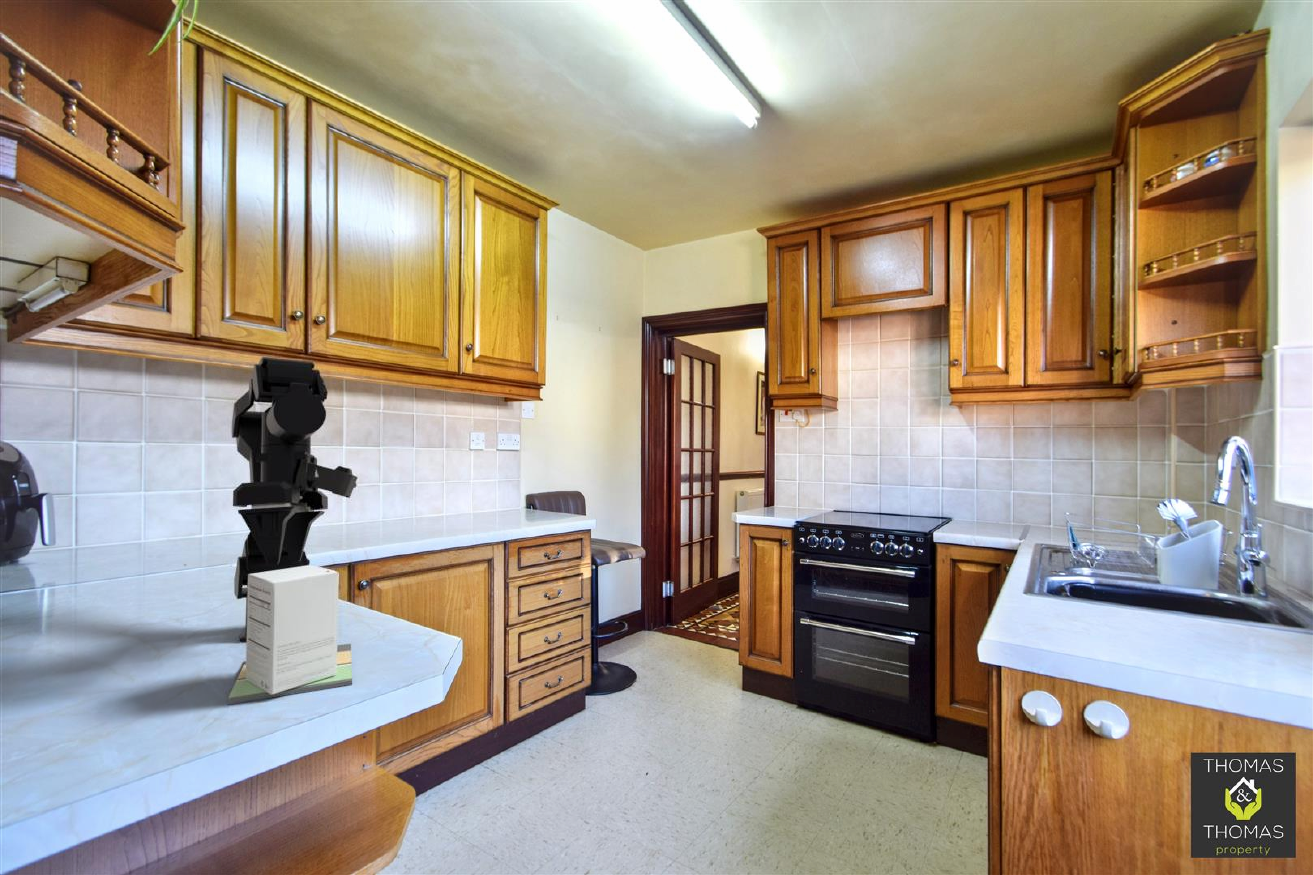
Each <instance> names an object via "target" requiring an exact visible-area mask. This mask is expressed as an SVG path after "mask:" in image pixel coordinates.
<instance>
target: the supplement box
mask: <svg viewBox="0 0 1313 875" xmlns="http://www.w3.org/2000/svg"><path fill="white" fill-rule="evenodd" d="M339 577H340V575H339V572H338V571H335V570H334V569H329V568H325V567H321V566H319V565H318V566H317V565H314V564H313V565H312V564H309V565H307V566H300V567H294V568H287V569H281V570H274V571H267V572H260V573H253V574H248V603H247V641H246V651H245V653H246V654H245V662H246V679H247V680H248V681H249V682H251V683H252V684H254V685H255V686H257V687H259V688H260V689H262V690H264V691H265V692H267V693H269V694H271V695H273V694H276V693H279V692H282V691H285V690H288V689H291V688H295V687H298V686H301V685H305V684H308V683H311V682H314V681H318V680H321V679H324V678H328V677H331V676H334V675H336V674H337V645H338V631H339V630H338V629H339V628H338V626H339V625H338V623H339V622H338V620H339V581H340V580H339Z"/></svg>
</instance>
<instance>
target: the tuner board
mask: <svg viewBox="0 0 1313 875" xmlns="http://www.w3.org/2000/svg"><path fill="white" fill-rule="evenodd" d="M352 663H353V662H352V643H345V644H337V674H336V675H334V676H331V677H328V678H324V679H321V680H318V681H314V682H311V683H308V684H305V685H301V686H298V687H295V688H291V689H288V690H285V691H282V692H279V693H276V694H273V695H271V694H269V693H267V692H265V691H264V690H262V689H260V688H259V687H257V686H255V685H254V684H252V683H251V682H249V681H248V680H247V679H246V661H245V662H244V664H243V666H242V668H241V670H240V673H239V675H238V676H237V677H236V678H237V679H236V680H235V683H234V685H233V687H232V690H231V691H230V693H229V696H227V697H228V698H227V705H228V706H229V705H233V704H240V703H248V702H253V701H260V700H266V698H267V699H271V698H278V696H279V697H284V696H283V695H285V696H288V695H287V694H291V695H293V694H292V693H298V694H301V693H309V692H315V690H316V691H321V690H320V689H322V690H327V689H328V688H329V689H334V687H335V688H339V687H338V686H341V687H345V686H344V685H347V686H352V684H353V667H352Z"/></svg>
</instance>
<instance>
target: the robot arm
mask: <svg viewBox="0 0 1313 875" xmlns="http://www.w3.org/2000/svg"><path fill="white" fill-rule="evenodd" d="M327 398H328V389H327V386H326V383H325V381H324V378H323V377H322V376H321V372H320V370H319V369H315V363H314V362H313V361H310V360H299V359H290V358H278V357H269V356H262V357H261V358H260V359H259V362H258V363H255V364H253V370H252V378H250V379H249V384H248V390H247V392H245V393H244V394H243V395H241V397H239V399H238V400H236V401H235V402H234V404H233V409H232V416H231V417H232V419H231V438H232V439H235V441H236V442H235V443H236V451H237V453H239V454H240V455H241V456H242V457H243V458H244V459H245V460H246V461H247V462H248V464H249V481H250V482H242V483H240V484H239V485H238V486H237V487H236V488H235V489H234V490H233V491H232V507H236V508H245V509H238V510H237V512H238V514H239V515H240V516H241V518H242V519H243V521H244V523H245V525H246V526H247V527H248V530H249V533H248V534H247V536H246V539H245V540H244V544H243V549H242V553H241V556H238V557H237V561H236V566H235V574H234V583H233V585H234V591H233V592H234V596H235V597H236V599H237V600H240V599H241V600H242V599H244V598H245V602H246V603H245V625H244V626H245V627H244V628H243V630H242V631H241V633H240V635H239V638H238V641H239V642H244V641H245V642H247V603H248V574H253V573H260V572H267V571H274V570H281V569H287V568H294V567H300V566H307V565H311V564H310V563H311V561H310V559H309V558H308V557H307V554H306V551H305V546H306V543H307V540H308V538H309V537H308V536H309V533H310V530H311V526H312V524H314V522H315V521H317V519H319V518H320V517H322V516H323V515H324V514H325V512H326V511H324V510H328V509H329V504H328V503H329V502H328V501H329V497H328V496H327V495H326V494H325V493H324V492H322V491H320V490H319V489H321V490H324V491H327V492H328V491H329V492H331V493H332V494H333V495H338V496H341V497H345V498H348V499H350V498H351V496H352V493H353V491H354V489H355V488H356V487H357V485H358V484H357V480H358V476H356V475H354V474H353V471H352V470H353V469H351V468H349V467H344V466H342V465H338V466H337V467H336V468H334V469H333V468H330V467H326V466H322V465H319V464H318V459H317V457H316V456H315V455H312V454H311V453H312V452H311V451H312V450H311V449H312V448H311V447H312V444H311V442H312V440H311V438H312V435H314V434H315V433H316V432H317V431H318V430H320V428H322V427H323V425H324V424H325V421H326V419H327V418H326V417H327V410H326V407H325V405H324V403H325V401H326V400H327ZM255 403H265V404H266V403H268V404H271V406H269V407H267V409H265V410H264V411H251V410H250V409H251V408H252V407H253V406H254V405H255ZM248 506H251V508H247V507H248ZM243 586H247V587H243Z"/></svg>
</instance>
